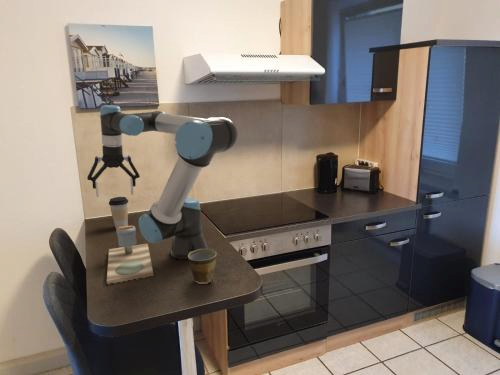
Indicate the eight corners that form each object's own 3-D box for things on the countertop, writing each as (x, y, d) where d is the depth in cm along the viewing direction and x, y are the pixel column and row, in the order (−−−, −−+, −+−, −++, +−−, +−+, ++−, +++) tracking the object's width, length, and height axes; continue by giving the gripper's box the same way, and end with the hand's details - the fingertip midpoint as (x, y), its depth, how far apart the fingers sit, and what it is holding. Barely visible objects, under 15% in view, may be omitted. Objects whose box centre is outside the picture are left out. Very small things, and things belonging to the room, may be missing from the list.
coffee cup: (107, 229, 193) (103, 200, 189) (122, 223, 201) (118, 195, 197) (121, 231, 188) (117, 202, 185) (135, 225, 196) (132, 197, 193)
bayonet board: (109, 252, 164) (106, 229, 161) (148, 246, 168) (145, 224, 166) (107, 284, 136) (103, 257, 133) (153, 276, 141) (150, 249, 138)
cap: (136, 239, 163) (134, 222, 161) (137, 245, 156) (135, 228, 154) (118, 241, 161) (116, 225, 159) (118, 248, 154) (116, 231, 152)
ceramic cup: (224, 279, 136) (222, 253, 134) (203, 290, 129) (200, 263, 127) (200, 269, 145) (198, 244, 142) (178, 279, 138) (176, 253, 135)
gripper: (143, 142, 161) (144, 190, 168) (78, 143, 152) (82, 193, 159) (145, 146, 155) (146, 195, 161) (77, 147, 146) (82, 199, 153)
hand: (115, 194), depth 160 cm, fingers open, 13 cm apart
